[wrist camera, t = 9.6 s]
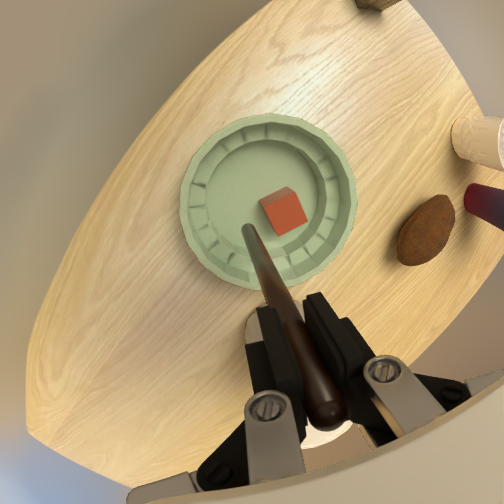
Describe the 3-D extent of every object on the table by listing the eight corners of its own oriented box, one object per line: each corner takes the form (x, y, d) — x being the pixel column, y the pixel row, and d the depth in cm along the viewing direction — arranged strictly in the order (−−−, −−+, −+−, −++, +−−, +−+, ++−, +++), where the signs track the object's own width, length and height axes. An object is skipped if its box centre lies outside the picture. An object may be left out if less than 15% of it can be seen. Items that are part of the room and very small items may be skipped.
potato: (444, 206, 37) (475, 219, 31) (403, 267, 40) (430, 288, 33) (421, 178, 35) (454, 189, 29) (377, 244, 38) (405, 265, 31)
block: (271, 227, 34) (278, 237, 31) (258, 200, 33) (263, 207, 29) (298, 213, 34) (308, 221, 31) (286, 185, 32) (295, 191, 29)
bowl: (206, 280, 36) (206, 306, 31) (168, 138, 29) (159, 137, 24) (340, 248, 37) (361, 267, 32) (322, 109, 30) (344, 105, 25)
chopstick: (242, 236, 26) (314, 443, 7) (239, 223, 25) (311, 424, 7) (255, 232, 26) (353, 430, 7) (252, 220, 25) (354, 409, 7)
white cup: (441, 125, 32) (492, 129, 23) (467, 106, 32) (515, 108, 22) (458, 171, 35) (505, 185, 26) (482, 149, 34) (527, 159, 25)
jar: (262, 285, 37) (301, 391, 21) (324, 306, 40) (383, 399, 23) (232, 341, 40) (249, 451, 24) (291, 356, 43) (327, 453, 26)
